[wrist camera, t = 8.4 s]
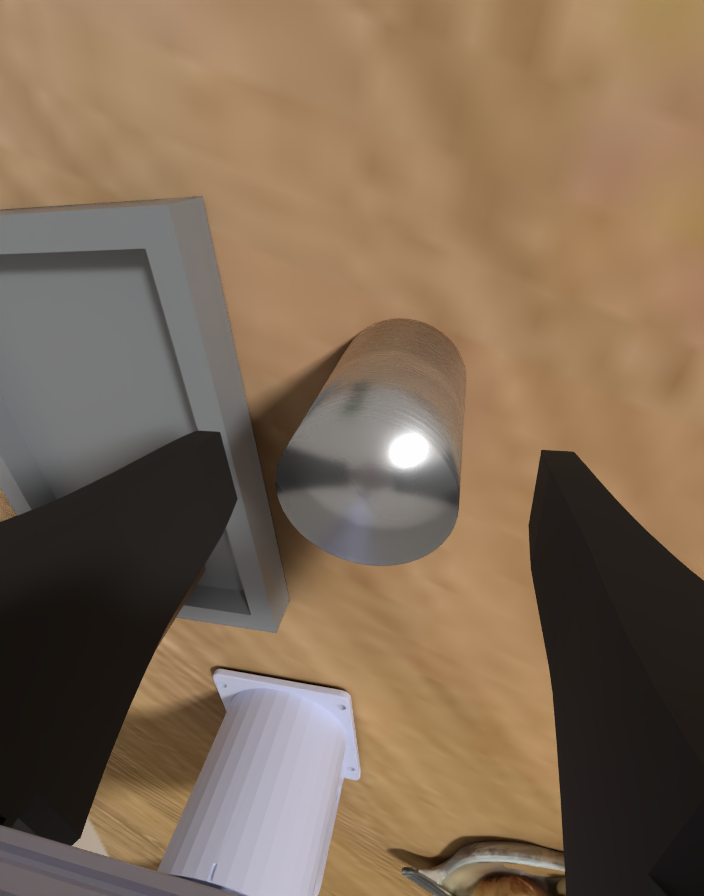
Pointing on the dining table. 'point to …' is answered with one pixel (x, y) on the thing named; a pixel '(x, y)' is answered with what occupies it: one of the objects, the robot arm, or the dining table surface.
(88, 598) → the robot arm
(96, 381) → the tray
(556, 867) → the salad plate
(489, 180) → the dining table surface
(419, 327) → the steel cylinder
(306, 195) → the dining table surface
